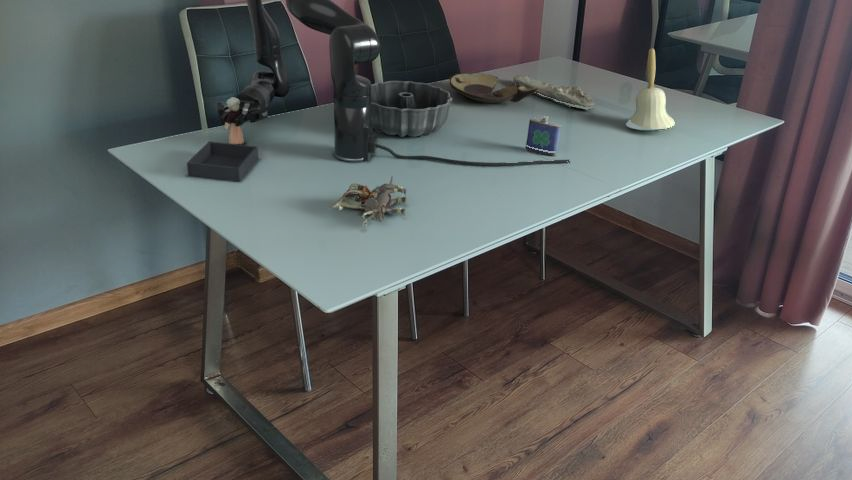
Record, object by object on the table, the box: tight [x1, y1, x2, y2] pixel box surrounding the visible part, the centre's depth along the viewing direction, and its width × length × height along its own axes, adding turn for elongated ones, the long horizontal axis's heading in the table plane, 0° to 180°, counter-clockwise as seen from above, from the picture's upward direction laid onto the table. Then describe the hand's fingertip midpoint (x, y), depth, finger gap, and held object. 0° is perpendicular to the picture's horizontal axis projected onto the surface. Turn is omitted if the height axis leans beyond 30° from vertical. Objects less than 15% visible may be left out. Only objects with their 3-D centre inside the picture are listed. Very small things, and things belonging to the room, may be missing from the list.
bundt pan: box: [371, 80, 453, 138], centre depth 218 cm, size 26×26×10 cm
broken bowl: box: [448, 72, 538, 104], centre depth 247 cm, size 22×30×8 cm
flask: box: [525, 115, 562, 157], centre depth 212 cm, size 9×3×11 cm, turn 68°
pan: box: [186, 141, 260, 183], centre depth 184 cm, size 12×14×3 cm
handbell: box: [629, 47, 676, 130], centre depth 236 cm, size 15×15×25 cm
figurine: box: [329, 175, 407, 228], centre depth 171 cm, size 20×6×17 cm
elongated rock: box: [512, 75, 596, 109], centre depth 259 cm, size 35×5×10 cm
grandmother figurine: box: [223, 96, 245, 145], centre depth 194 cm, size 8×4×13 cm, turn 172°
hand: (230, 122), depth 191 cm, fingers closed on grandmother figurine, 3 cm apart
